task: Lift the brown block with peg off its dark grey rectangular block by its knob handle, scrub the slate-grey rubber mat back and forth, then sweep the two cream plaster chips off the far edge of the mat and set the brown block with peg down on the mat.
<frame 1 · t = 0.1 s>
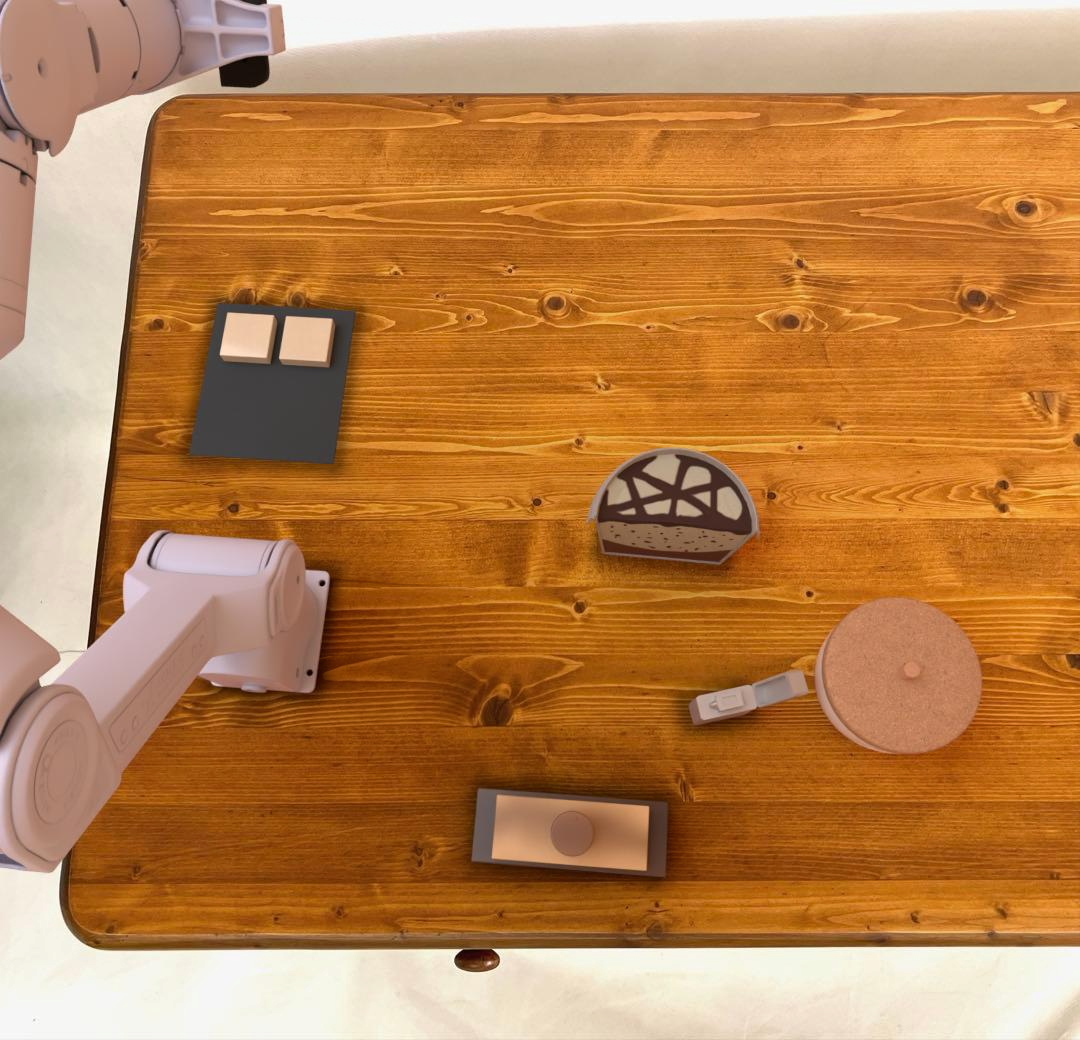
hand: (192, 8, 54), 32 cm above the table, tool tilted 50°, fingers open, 7 cm apart
chip right: (309, 345, 83), resting on mat
brown half-round block: (663, 523, 78), on the table
brown block with peg: (570, 831, 66), point 6 cm above the table, touching dark grey rectangular block
trinket box: (868, 687, 74), on the table
mat: (275, 383, 82), on the table
chip left: (251, 341, 83), resting on mat
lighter: (735, 704, 74), on the table
dark grey rectangular block: (569, 830, 71), on the table
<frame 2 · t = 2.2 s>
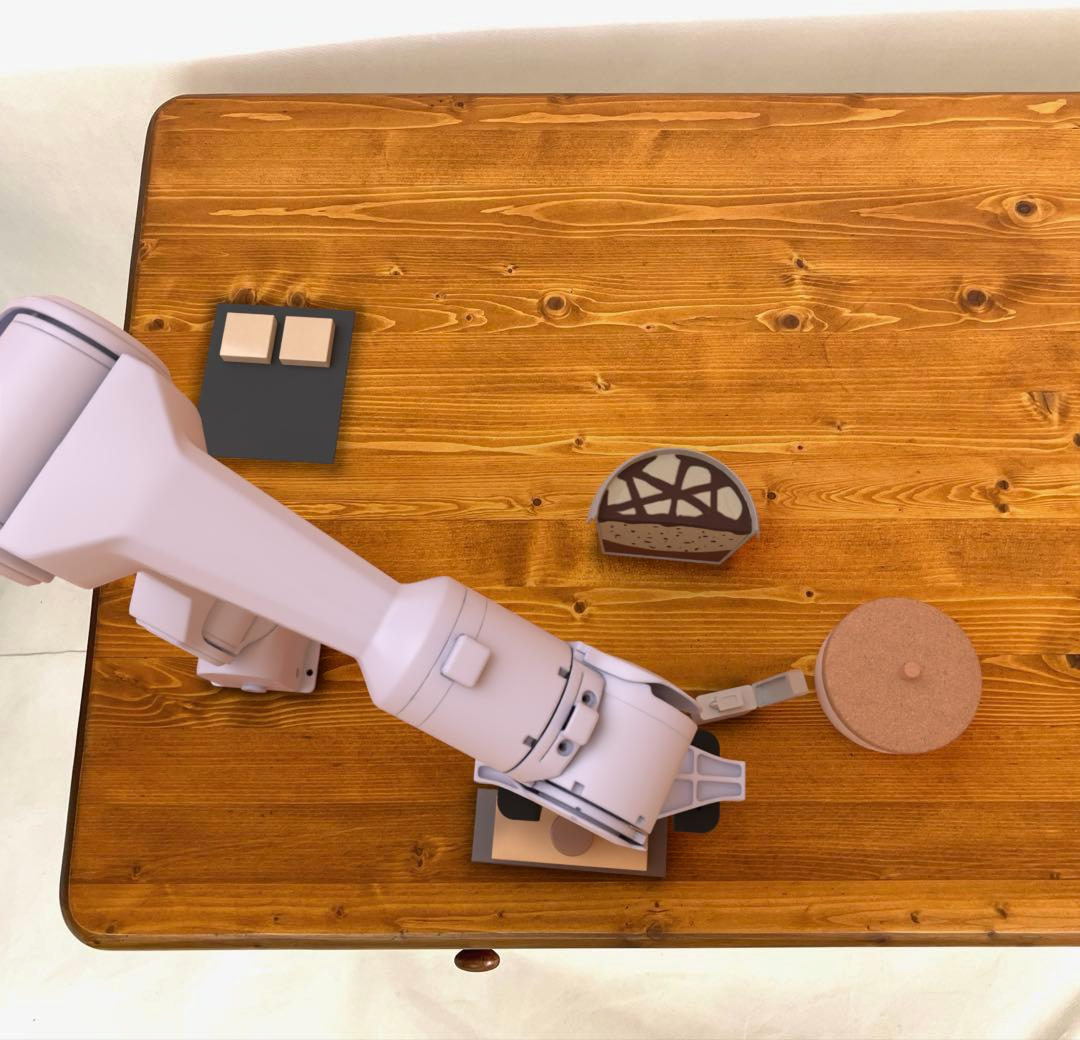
hand: (608, 781, 61), 12 cm above the table, tool pointing down, fingers open, 7 cm apart
nothing on the table moved.
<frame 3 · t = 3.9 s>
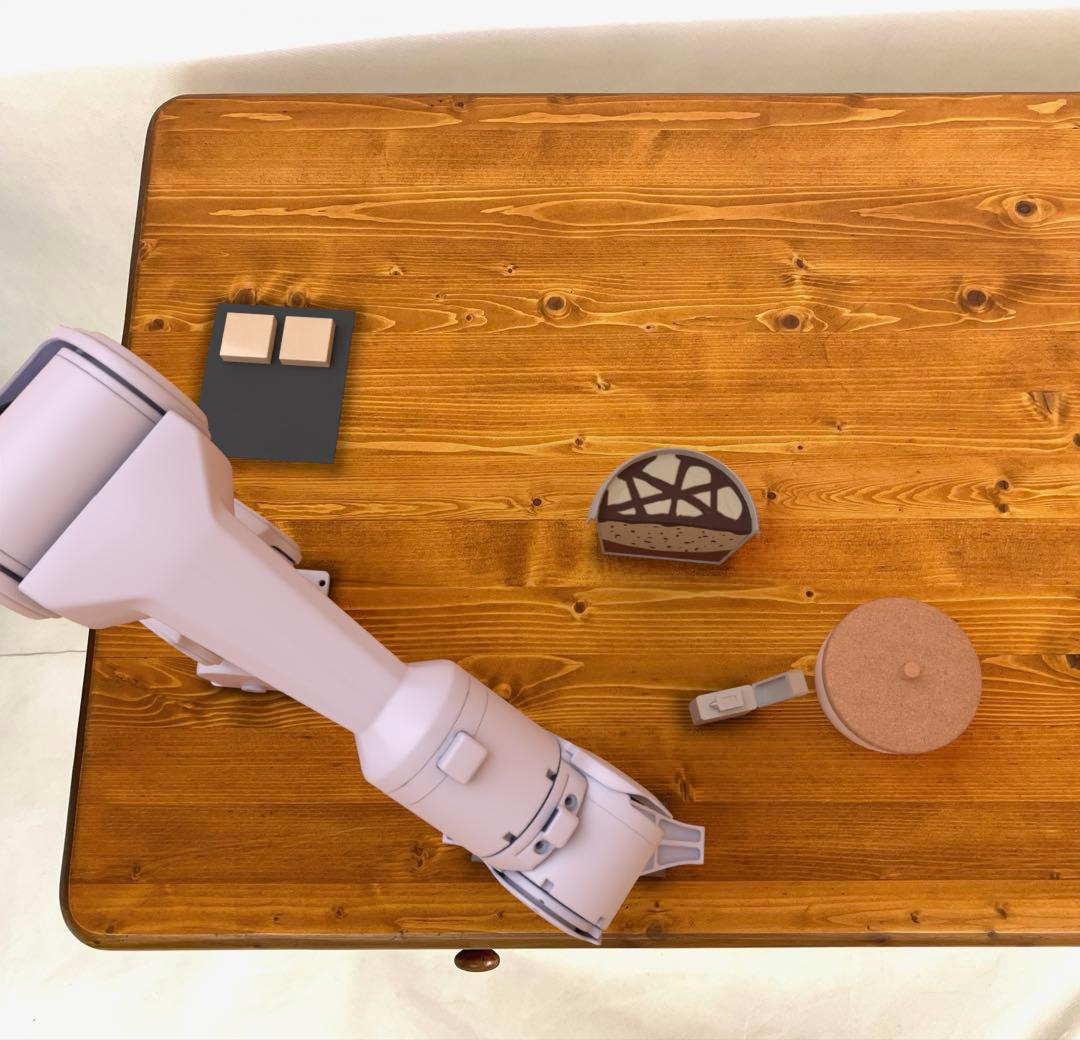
hand: (571, 832, 63), 9 cm above the table, tool pointing down, fingers closed on brown block with peg, 2 cm apart
brown block with peg: (570, 831, 66), point 6 cm above the table, touching dark grey rectangular block, gripper
everything else where it was.
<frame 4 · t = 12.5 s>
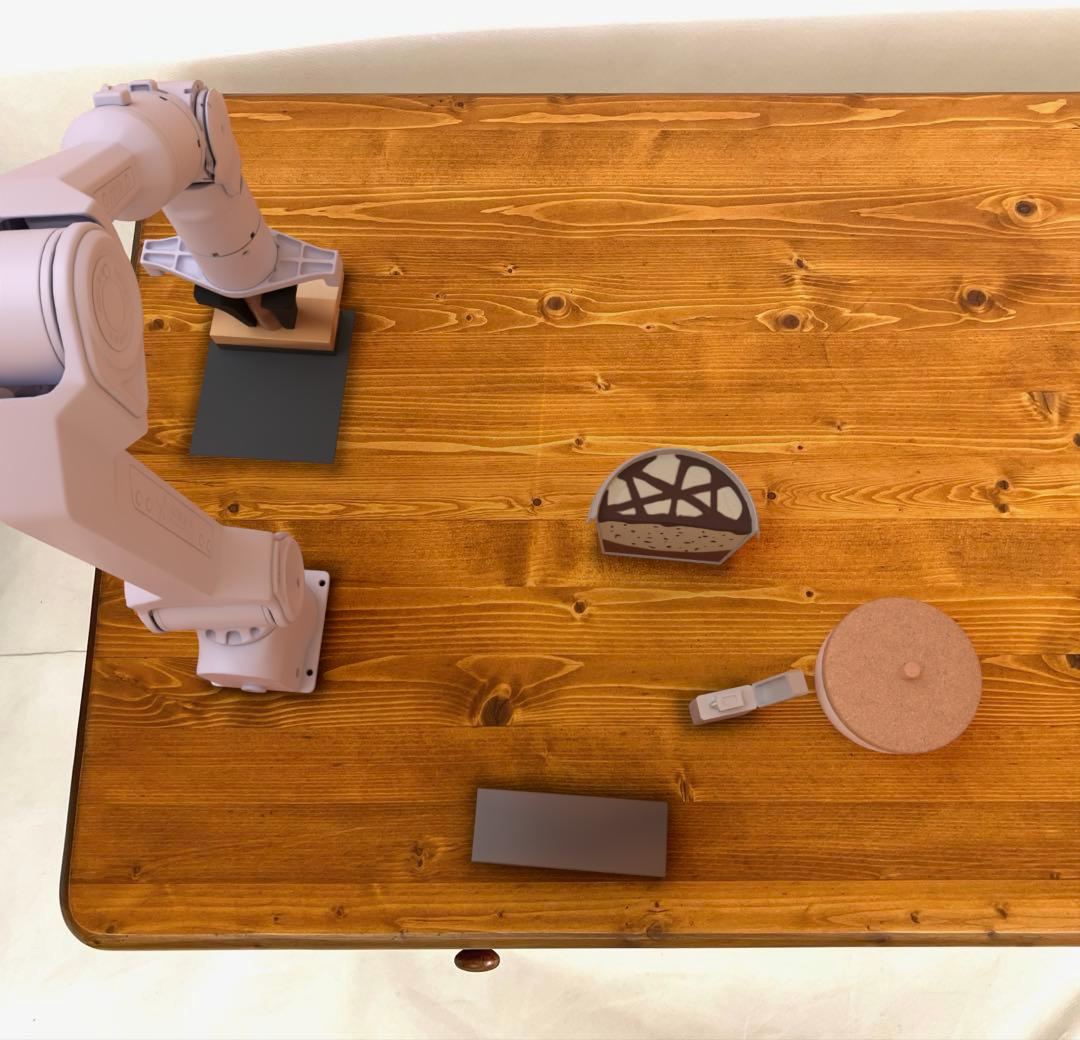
hand: (273, 317, 81), 3 cm above the table, tool pointing down, fingers closed on brown block with peg, 2 cm apart
chip right: (318, 293, 84), on the table, tilted 7°, touching brown block with peg, mat
brown block with peg: (281, 331, 83), point 1 cm above the table, touching chip left, chip right, gripper
chip left: (260, 290, 85), on the table, tilted 7°, touching brown block with peg
everything else where it was.
when the fingers open (3 cm above the table, at t = 16.1 s): brown block with peg stays where it is, resting on mat.
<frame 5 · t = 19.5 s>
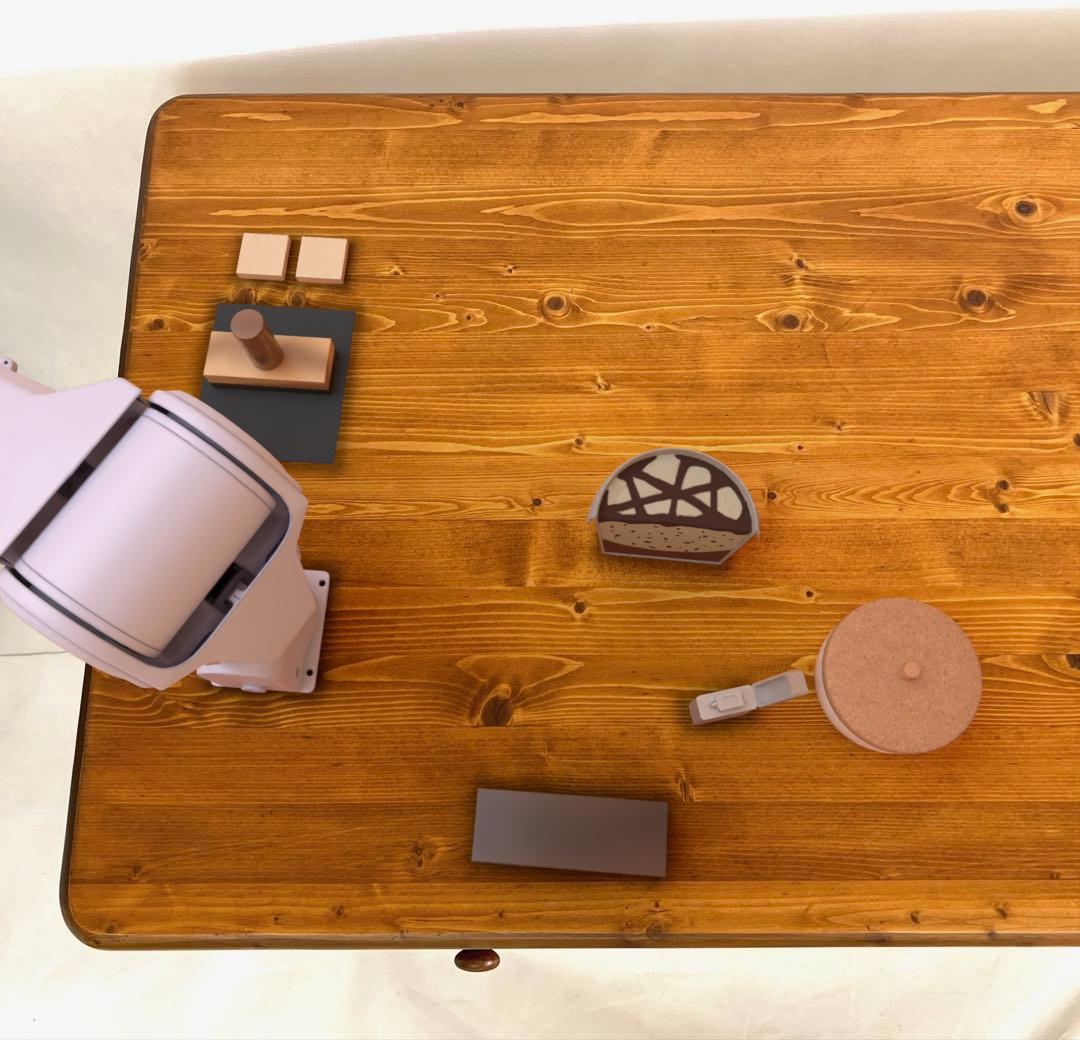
hand: (55, 465, 69), 10 cm above the table, tool pointing down, fingers open, 7 cm apart
chip right: (324, 264, 85), on the table
brown block with peg: (275, 369, 82), resting on mat
chip left: (266, 261, 86), on the table
everything else where it was.
at the end: chip left inside the target area on the table beside the mat (1.8 cm from its centre), on the table; chip right inside the target area on the table beside the mat (1.8 cm from its centre), on the table; the gripper is holding nothing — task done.
